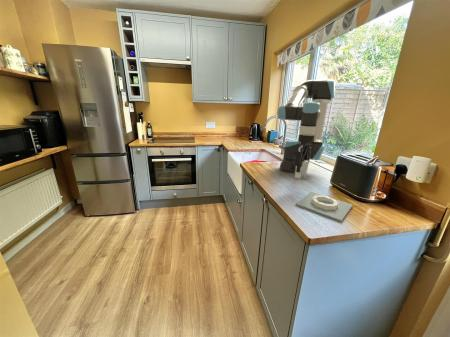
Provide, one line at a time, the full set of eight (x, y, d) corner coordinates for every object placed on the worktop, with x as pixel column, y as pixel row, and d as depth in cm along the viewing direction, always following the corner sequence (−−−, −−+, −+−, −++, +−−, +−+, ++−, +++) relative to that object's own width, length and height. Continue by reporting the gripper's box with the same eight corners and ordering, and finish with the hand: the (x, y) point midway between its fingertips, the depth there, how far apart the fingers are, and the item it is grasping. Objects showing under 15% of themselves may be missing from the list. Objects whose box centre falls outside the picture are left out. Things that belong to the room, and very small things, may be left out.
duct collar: (297, 174, 109) (299, 158, 105) (307, 177, 105) (310, 160, 102) (292, 177, 105) (294, 160, 101) (303, 180, 101) (306, 162, 97)
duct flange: (310, 193, 106) (311, 188, 105) (352, 206, 92) (353, 200, 92) (295, 205, 92) (296, 199, 91) (341, 222, 79) (342, 216, 78)
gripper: (306, 131, 106) (300, 170, 113) (291, 135, 93) (285, 178, 100) (320, 133, 101) (313, 173, 108) (306, 137, 88) (299, 182, 96)
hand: (300, 176), depth 104 cm, fingers closed on duct collar, 6 cm apart
